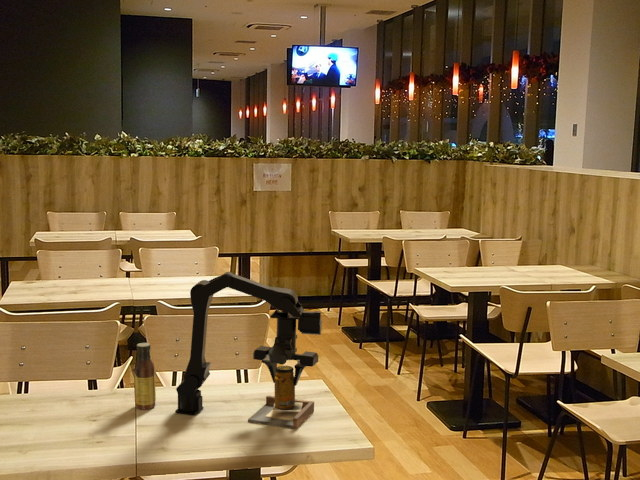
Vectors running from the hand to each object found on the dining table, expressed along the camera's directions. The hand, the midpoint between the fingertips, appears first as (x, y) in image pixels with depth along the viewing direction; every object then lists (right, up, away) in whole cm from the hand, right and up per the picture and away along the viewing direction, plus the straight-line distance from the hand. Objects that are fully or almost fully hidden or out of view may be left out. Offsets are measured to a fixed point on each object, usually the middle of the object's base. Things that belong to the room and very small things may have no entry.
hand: (285, 384), depth 235 cm
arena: (-2, -10, 0) cm, 10 cm away
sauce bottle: (-43, -8, +6) cm, 44 cm away
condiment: (+1, -7, +1) cm, 7 cm away
